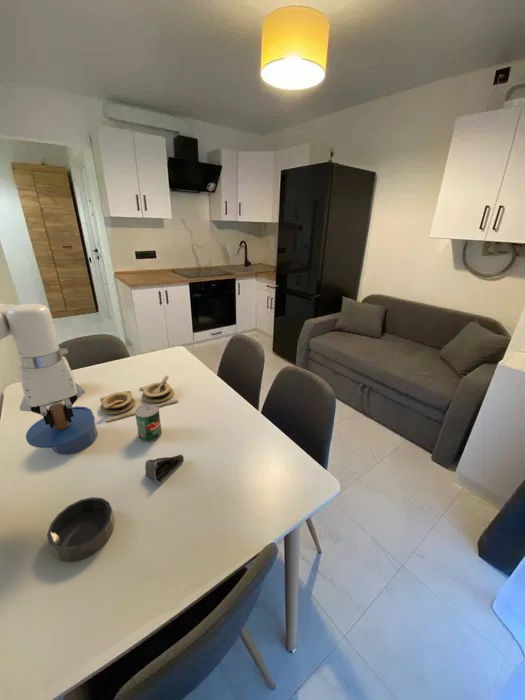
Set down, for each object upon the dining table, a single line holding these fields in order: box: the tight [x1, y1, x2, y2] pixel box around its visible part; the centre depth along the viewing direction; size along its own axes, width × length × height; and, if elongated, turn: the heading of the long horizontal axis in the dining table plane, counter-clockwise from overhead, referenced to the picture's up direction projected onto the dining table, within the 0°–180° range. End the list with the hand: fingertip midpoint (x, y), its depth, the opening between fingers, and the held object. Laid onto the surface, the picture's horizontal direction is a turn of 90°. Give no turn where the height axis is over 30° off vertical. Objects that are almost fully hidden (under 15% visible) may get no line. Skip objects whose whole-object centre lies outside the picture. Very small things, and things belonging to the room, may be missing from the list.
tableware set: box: [99, 375, 179, 423], centre depth 124 cm, size 30×20×6 cm, turn 124°
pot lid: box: [25, 402, 96, 449], centre depth 74 cm, size 15×15×7 cm
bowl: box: [46, 496, 115, 563], centre depth 72 cm, size 13×13×4 cm
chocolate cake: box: [144, 454, 185, 486], centre depth 91 cm, size 10×7×12 cm
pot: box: [51, 406, 98, 455], centre depth 100 cm, size 14×14×10 cm
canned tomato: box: [134, 403, 163, 443], centre depth 104 cm, size 8×8×11 cm
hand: (60, 421), depth 74 cm, fingers closed on pot lid, 3 cm apart
